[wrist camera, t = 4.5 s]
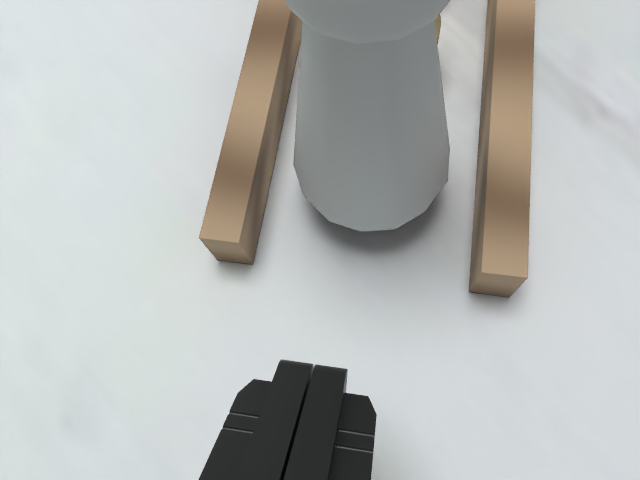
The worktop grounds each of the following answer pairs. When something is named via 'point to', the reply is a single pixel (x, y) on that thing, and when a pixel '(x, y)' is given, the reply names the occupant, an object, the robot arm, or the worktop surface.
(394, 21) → the salt shaker
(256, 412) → the robot arm
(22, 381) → the worktop surface
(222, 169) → the slot rails
